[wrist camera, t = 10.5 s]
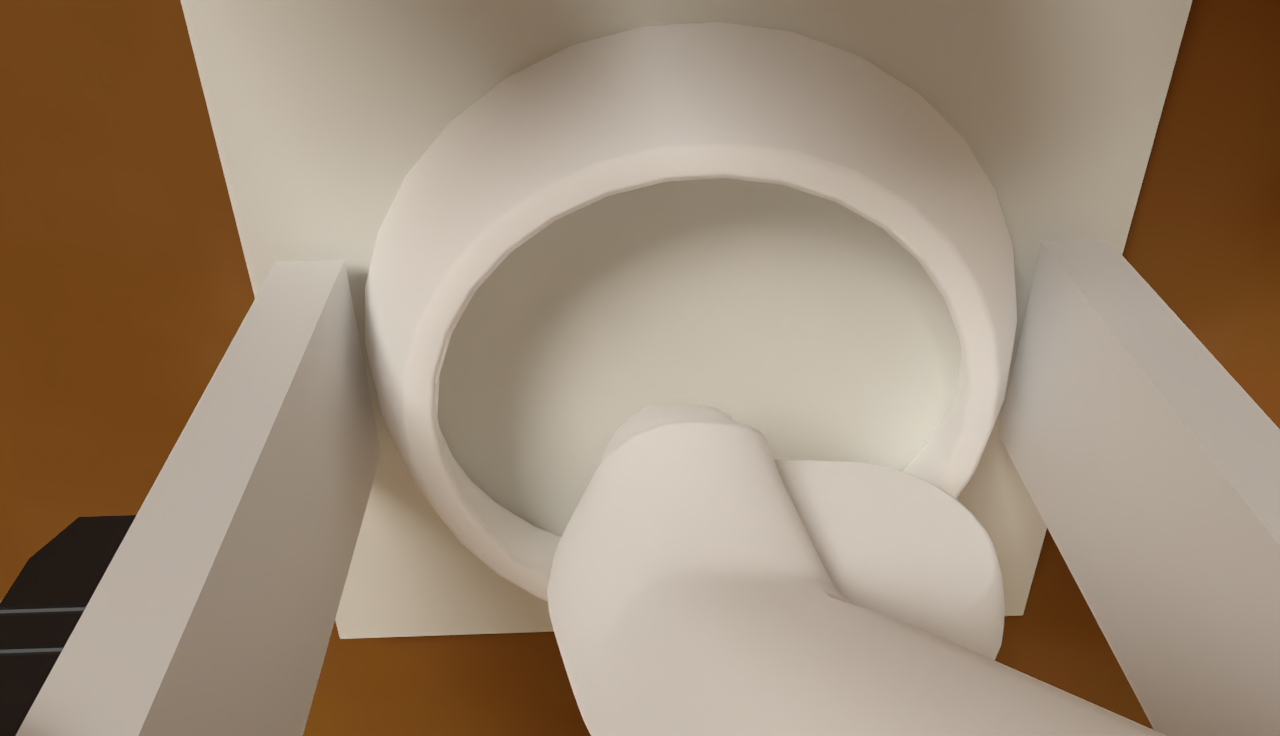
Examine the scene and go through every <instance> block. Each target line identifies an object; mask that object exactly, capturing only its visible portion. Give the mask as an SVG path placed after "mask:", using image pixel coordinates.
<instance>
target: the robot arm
mask: <svg viewBox="0 0 1280 736" xmlns="http://www.w3.org/2000/svg"><path fill="white" fill-rule="evenodd" d="M998 435H999V437H1000V439H1001V441H1002V443H1003V445H1004V447H1005V449H1006V450H1007V452H1008V454H1009V456H1010V458H1011V460H1012V462H1013V464H1014V466H1015V467H1016V469H1017V471H1018V473H1019V475H1020V477H1021V479H1022V481H1023V483H1024V485H1025V486H1026V488H1027V490H1028V492H1029V494H1030V496H1031V498H1032V500H1033V502H1034V504H1035V505H1036V507H1037V509H1038V511H1039V513H1040V515H1041V517H1042V519H1043V521H1044V522H1045V524H1046V526H1047V528H1048V530H1049V532H1050V534H1051V536H1052V538H1053V540H1054V541H1055V543H1056V545H1057V547H1058V549H1059V551H1060V553H1061V555H1062V557H1063V558H1064V560H1065V562H1066V564H1067V566H1068V568H1069V570H1070V572H1071V574H1072V576H1073V577H1074V579H1075V581H1076V583H1077V585H1078V587H1079V589H1080V591H1081V593H1082V594H1083V596H1084V598H1085V600H1086V602H1087V604H1088V606H1089V608H1090V610H1091V612H1092V613H1093V615H1094V617H1095V619H1096V621H1097V623H1098V625H1099V627H1100V629H1101V630H1102V632H1103V634H1104V636H1105V638H1106V640H1107V642H1108V644H1109V646H1110V648H1111V649H1112V651H1113V653H1114V655H1115V657H1116V659H1117V661H1118V663H1119V665H1120V666H1121V668H1122V670H1123V672H1124V674H1125V676H1126V678H1127V680H1128V682H1129V684H1130V685H1131V687H1132V689H1133V691H1134V693H1135V695H1136V697H1137V699H1138V701H1139V703H1140V704H1141V706H1142V708H1143V710H1144V712H1145V714H1146V716H1147V718H1148V720H1149V721H1150V723H1151V725H1152V727H1153V729H1154V730H1155V731H1157V732H1159V733H1162V734H1164V735H1166V736H1280V429H1279V428H1278V427H1277V426H1276V425H1275V424H1274V423H1273V422H1272V420H1271V419H1270V418H1269V417H1268V416H1267V415H1266V414H1265V413H1264V412H1263V411H1262V409H1261V408H1260V407H1259V406H1258V405H1257V404H1256V403H1255V402H1254V401H1253V399H1252V398H1251V397H1250V396H1249V395H1248V394H1247V393H1246V392H1245V391H1244V389H1243V388H1242V387H1241V386H1240V385H1239V384H1238V383H1237V382H1236V381H1235V380H1234V378H1233V377H1232V376H1231V375H1230V374H1229V373H1228V372H1227V371H1226V370H1225V368H1224V367H1223V366H1222V365H1221V364H1220V363H1219V362H1218V361H1217V360H1216V359H1215V357H1214V356H1213V355H1212V354H1211V353H1210V352H1209V351H1208V350H1207V349H1206V347H1205V346H1204V345H1203V344H1202V343H1201V342H1200V341H1199V340H1198V339H1197V338H1196V336H1195V335H1194V334H1193V333H1192V332H1191V331H1190V330H1189V329H1188V328H1187V326H1186V325H1185V324H1184V323H1183V322H1182V321H1181V320H1180V319H1179V318H1178V317H1177V315H1176V314H1175V313H1174V312H1173V311H1172V310H1171V309H1170V308H1169V307H1168V305H1167V304H1166V303H1165V302H1164V301H1163V300H1162V299H1161V298H1160V297H1159V296H1158V294H1157V293H1156V292H1155V291H1154V290H1153V289H1152V288H1151V287H1150V286H1149V284H1148V283H1147V282H1146V281H1145V280H1144V279H1143V278H1142V277H1141V276H1140V275H1139V273H1138V272H1137V271H1136V270H1135V269H1134V268H1133V267H1132V266H1131V265H1130V263H1129V262H1128V261H1127V260H1126V259H1125V258H1124V257H1123V256H1122V255H1121V254H1120V252H1119V251H1118V250H1117V249H1116V248H1115V247H1114V246H1113V245H1112V244H1111V242H1110V241H1109V240H1076V241H1041V245H1040V250H1039V254H1038V259H1037V263H1036V268H1035V272H1034V276H1033V281H1032V285H1031V290H1030V294H1029V299H1028V303H1027V308H1026V312H1025V317H1024V321H1023V326H1022V330H1021V335H1020V339H1019V343H1018V348H1017V352H1016V357H1015V361H1014V366H1013V370H1012V375H1011V379H1010V384H1009V388H1008V393H1007V397H1006V402H1005V406H1004V411H1003V415H1002V419H1001V424H1000V428H999V433H998ZM380 456H381V449H380V444H379V439H378V434H377V428H376V423H375V418H374V412H373V407H372V402H371V397H370V391H369V386H368V381H367V376H366V370H365V365H364V360H363V354H362V349H361V344H360V339H359V333H358V328H357V323H356V318H355V312H354V307H353V302H352V297H351V291H350V286H349V281H348V275H347V270H346V265H345V260H315V261H277V262H275V264H274V266H273V267H272V269H271V271H270V273H269V275H268V277H267V278H266V280H265V282H264V284H263V286H262V288H261V289H260V291H259V293H258V295H257V297H256V298H255V300H254V302H253V304H252V306H251V308H250V309H249V311H248V313H247V315H246V317H245V318H244V320H243V322H242V324H241V326H240V328H239V329H238V331H237V333H236V335H235V337H234V339H233V340H232V342H231V344H230V346H229V348H228V349H227V351H226V353H225V355H224V357H223V359H222V360H221V362H220V364H219V366H218V368H217V369H216V371H215V373H214V375H213V377H212V379H211V380H210V382H209V384H208V386H207V388H206V390H205V391H204V393H203V395H202V397H201V399H200V400H199V402H198V404H197V406H196V408H195V410H194V411H193V413H192V415H191V417H190V419H189V420H188V422H187V424H186V426H185V428H184V430H183V431H182V433H181V435H180V437H179V439H178V441H177V442H176V444H175V446H174V448H173V450H172V451H171V453H170V455H169V457H168V459H167V461H166V462H165V464H164V466H163V468H162V470H161V471H160V473H159V475H158V477H157V479H156V481H155V482H154V484H153V486H152V488H151V490H150V492H149V493H148V495H147V497H146V499H145V501H144V502H143V504H142V506H141V508H140V510H139V512H138V513H137V515H132V516H100V517H79V518H77V519H76V520H75V521H74V522H73V523H72V524H70V525H69V526H68V527H67V528H66V529H64V530H63V531H62V532H61V533H60V534H58V535H57V536H56V537H55V538H54V539H52V540H51V541H50V542H49V543H48V544H46V545H45V546H44V547H43V548H42V549H40V550H39V551H38V552H37V553H36V554H34V555H33V556H32V557H31V558H30V559H29V560H28V562H27V563H26V565H25V566H24V568H23V569H22V571H21V572H20V574H19V576H18V577H17V579H16V580H15V582H14V583H13V585H12V586H11V588H10V590H9V591H8V593H7V594H6V596H5V597H4V599H3V600H2V602H1V604H0V736H303V733H304V729H305V726H306V722H307V718H308V715H309V711H310V708H311V704H312V700H313V697H314V693H315V690H316V686H317V683H318V679H319V675H320V672H321V668H322V665H323V661H324V657H325V654H326V650H327V647H328V643H329V639H330V636H331V632H332V629H333V625H334V621H335V618H336V614H337V611H338V607H339V603H340V600H341V596H342V593H343V589H344V585H345V582H346V578H347V575H348V571H349V567H350V564H351V560H352V557H353V553H354V549H355V546H356V542H357V539H358V535H359V531H360V528H361V524H362V521H363V517H364V513H365V510H366V506H367V503H368V499H369V496H370V492H371V488H372V485H373V481H374V478H375V474H376V470H377V467H378V463H379V460H380Z"/></svg>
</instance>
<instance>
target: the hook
mask: <svg viewBox="0 0 1280 736" xmlns="http://www.w3.org/2000/svg"><path fill="white" fill-rule="evenodd" d="M715 178H729V179H738V180H746V181H754V182H763V183H771V184H779V185H784V186H788V187H791V188H794V189H797V190H800V191H803V192H806V193H809V194H812V195H815V196H819V197H822V198H825V199H828V200H831V201H834V202H837V203H838V204H840V205H842V206H844V207H845V208H847V209H849V210H851V211H853V212H854V213H856V214H858V215H860V216H861V217H863V218H865V219H867V220H868V221H870V222H872V223H874V224H875V225H877V226H879V227H881V228H882V229H883V230H885V231H886V232H887V233H888V234H889V235H890V236H891V237H892V238H893V239H894V240H896V241H897V242H898V243H899V244H900V245H901V246H902V247H903V248H904V249H905V250H907V251H908V252H909V253H910V254H911V255H912V256H913V257H914V258H915V259H916V260H918V261H919V263H920V264H921V265H922V267H923V268H924V270H925V271H926V273H927V274H928V276H929V277H930V279H931V280H932V282H933V283H934V285H935V286H936V288H937V289H938V290H939V292H940V293H941V295H942V296H943V298H944V299H945V301H946V304H947V307H948V309H949V312H950V315H951V318H952V320H953V323H954V326H955V329H956V331H957V334H958V337H959V340H960V344H961V354H962V356H961V363H960V370H959V377H958V384H957V388H956V391H955V393H954V396H953V399H952V401H951V404H950V407H949V409H948V412H947V414H946V415H945V417H944V418H943V420H942V422H941V423H940V425H939V426H938V428H937V430H936V431H935V433H934V434H933V436H932V437H931V439H930V441H929V442H928V444H927V445H926V446H925V447H924V448H923V449H922V450H921V451H920V452H919V453H918V454H917V456H916V457H915V458H914V459H913V460H912V461H911V462H910V463H909V464H908V465H907V466H906V468H905V469H904V470H903V471H899V470H895V469H892V468H889V467H884V466H878V465H872V464H867V463H861V462H841V461H815V460H774V457H773V455H772V452H771V450H770V447H769V445H768V443H767V441H766V439H765V437H764V436H763V434H762V433H761V432H760V431H758V430H756V429H753V428H751V427H749V426H747V425H745V424H737V423H736V422H735V421H734V420H733V419H732V418H731V417H730V416H728V415H727V414H725V413H723V412H721V411H720V410H718V409H716V408H714V407H710V406H705V405H701V404H696V403H673V404H663V405H654V406H649V407H647V408H645V409H643V410H642V411H640V412H638V413H636V414H634V415H632V416H630V417H629V418H628V419H627V420H626V422H625V423H624V424H623V425H622V426H621V427H620V428H619V429H618V430H617V431H616V432H615V433H614V435H613V436H612V438H611V440H610V441H609V443H608V445H607V446H606V448H605V450H604V452H603V456H602V460H601V463H600V465H599V466H598V468H597V469H596V471H595V473H594V475H593V477H592V479H591V481H590V483H589V485H588V486H587V488H586V490H585V492H584V494H583V496H582V498H581V500H580V502H579V504H578V506H577V507H576V509H575V511H574V513H573V515H572V517H571V519H570V521H569V523H568V525H567V527H566V529H565V531H564V533H563V535H562V537H560V536H558V535H555V534H553V533H550V532H548V531H545V530H543V529H540V528H538V527H535V526H533V525H531V524H530V523H528V522H526V521H525V520H523V519H522V518H520V517H518V516H517V515H515V514H513V513H512V512H510V511H509V510H507V509H505V508H504V507H502V506H500V505H499V504H497V503H496V502H495V501H493V500H492V499H491V498H490V497H489V496H488V495H487V494H486V493H484V492H483V491H482V490H481V489H480V488H479V487H478V486H477V485H476V484H474V483H473V482H472V481H471V480H470V479H469V477H468V476H467V475H466V473H465V472H464V471H463V469H462V468H461V467H460V465H459V464H458V463H457V461H456V460H455V459H454V457H453V456H452V454H451V452H450V449H449V447H448V445H447V443H446V441H445V439H444V436H443V434H442V432H441V430H440V428H439V423H438V394H439V375H440V371H441V368H442V365H443V361H444V358H445V354H446V351H447V348H448V344H449V341H450V337H451V334H452V331H453V330H454V328H455V326H456V324H457V323H458V321H459V319H460V317H461V316H462V314H463V312H464V310H465V309H466V307H467V305H468V303H469V302H470V300H471V298H472V297H473V295H474V293H475V291H476V290H477V289H478V288H479V287H480V286H481V284H482V283H483V282H484V281H485V280H486V279H487V278H488V277H489V276H490V275H491V273H492V272H493V271H494V270H495V269H496V268H497V267H498V266H499V265H500V264H501V263H502V261H503V260H504V259H505V258H506V257H507V256H508V255H509V254H510V253H511V252H512V251H513V250H515V249H516V248H518V247H519V246H520V245H522V244H523V243H525V242H526V241H527V240H529V239H530V238H531V237H533V236H534V235H536V234H537V233H538V232H540V231H541V230H543V229H544V228H545V227H547V226H548V225H549V224H551V223H552V222H554V221H555V220H557V219H559V218H561V217H564V216H566V215H568V214H570V213H572V212H574V211H577V210H579V209H581V208H583V207H585V206H587V205H590V204H592V203H594V202H596V201H598V200H600V199H603V198H605V197H607V196H610V195H614V194H618V193H622V192H626V191H630V190H634V189H638V188H642V187H646V186H650V185H654V184H658V183H662V182H669V181H684V180H700V179H715ZM1016 325H1017V305H1016V288H1015V271H1014V255H1013V245H1012V241H1011V238H1010V235H1009V232H1008V229H1007V225H1006V222H1005V219H1004V216H1003V212H1002V209H1001V206H1000V203H999V200H998V196H997V193H996V190H995V189H994V187H993V185H992V184H991V182H990V180H989V179H988V177H987V175H986V174H985V172H984V171H983V169H982V167H981V166H980V164H979V162H978V161H977V159H976V157H975V156H974V154H973V152H972V151H971V149H970V147H969V146H968V144H967V142H966V141H965V139H964V138H963V137H962V136H961V135H960V134H959V133H958V132H957V131H956V130H955V129H954V128H953V127H952V126H951V125H950V124H949V123H948V122H947V121H946V120H945V119H944V118H943V117H942V116H941V115H940V114H939V113H938V112H937V111H936V110H935V109H934V108H933V107H932V106H931V105H930V104H929V103H928V102H927V101H926V100H925V99H924V98H923V97H922V96H921V95H920V94H919V93H918V92H916V91H915V90H913V89H912V88H910V87H908V86H907V85H905V84H904V83H902V82H900V81H899V80H897V79H896V78H894V77H892V76H891V75H889V74H888V73H886V72H884V71H883V70H881V69H880V68H878V67H876V66H875V65H873V64H872V63H870V62H868V61H867V60H865V59H864V58H862V57H860V56H858V55H856V54H853V53H850V52H847V51H844V50H842V49H839V48H836V47H833V46H830V45H828V44H825V43H822V42H819V41H816V40H814V39H811V38H808V37H805V36H802V35H800V34H797V33H794V32H791V31H784V30H776V29H769V28H762V27H754V26H747V25H740V24H732V23H725V22H703V23H688V24H672V25H657V26H642V27H639V28H635V29H631V30H628V31H624V32H620V33H616V34H613V35H609V36H605V37H602V38H598V39H594V40H591V41H587V42H583V43H579V44H576V45H572V46H569V47H567V48H565V49H563V50H561V51H559V52H557V53H555V54H553V55H551V56H549V57H547V58H545V59H543V60H541V61H539V62H537V63H535V64H533V65H531V66H529V67H527V68H525V69H523V70H521V71H519V72H517V73H515V74H513V75H511V76H509V77H507V78H505V79H504V80H503V81H501V82H500V83H499V84H498V85H496V86H495V87H494V88H492V89H491V90H490V91H489V92H487V93H486V94H485V95H484V96H482V97H481V98H480V99H479V100H477V101H476V102H475V103H474V104H472V105H471V106H470V107H468V108H467V109H466V110H465V111H463V112H462V113H461V114H460V115H458V116H457V117H456V118H455V119H453V120H452V121H451V122H450V123H449V124H448V125H447V126H446V127H445V128H444V130H443V131H442V132H441V133H440V135H439V136H438V137H437V138H436V139H435V141H434V142H433V143H432V144H431V146H430V147H429V148H428V149H427V150H426V152H425V153H424V154H423V155H422V157H421V158H420V159H419V160H418V161H417V163H416V164H415V165H414V166H413V167H412V169H411V170H410V171H409V172H408V174H407V175H406V177H405V179H404V181H403V183H402V185H401V187H400V189H399V191H398V193H397V195H396V197H395V199H394V201H393V203H392V205H391V207H390V209H389V211H388V213H387V215H386V217H385V219H384V221H383V223H382V225H381V227H380V229H379V231H378V235H377V239H376V243H375V247H374V252H373V256H372V260H371V264H370V269H369V273H368V277H367V281H366V286H365V345H366V349H367V354H368V358H369V362H370V366H371V370H372V375H373V379H374V383H375V387H376V391H377V395H378V400H379V404H380V408H381V412H382V415H383V417H384V420H385V422H386V424H387V427H388V429H389V431H390V433H391V436H392V438H393V440H394V442H395V444H396V446H397V448H398V450H399V452H400V454H401V456H402V458H403V460H404V462H405V464H406V466H407V468H408V470H409V472H410V474H411V476H412V478H413V480H414V483H415V484H416V486H417V487H418V488H419V490H420V491H421V492H422V494H423V495H424V496H425V498H426V499H427V500H428V502H429V503H430V505H431V506H432V507H433V508H434V510H435V511H436V512H437V514H438V515H439V516H440V517H441V519H442V520H443V521H444V522H445V524H446V525H447V526H448V527H449V529H450V530H451V531H452V532H453V534H454V535H455V536H456V537H457V539H458V540H459V541H460V542H461V544H462V545H464V546H465V547H466V548H467V549H468V550H470V551H471V552H472V553H473V554H474V555H475V556H477V557H478V558H479V559H480V560H481V561H483V562H484V563H485V564H486V565H487V566H488V567H490V568H491V569H492V570H493V571H494V572H496V573H497V574H498V575H500V576H502V577H503V578H505V579H507V580H508V581H510V582H512V583H514V584H515V585H517V586H519V587H521V588H522V589H524V590H526V591H527V592H529V593H531V594H533V595H534V596H536V597H538V598H540V599H543V600H545V601H548V607H549V615H550V618H551V622H552V626H553V630H554V633H555V637H556V640H557V643H558V646H559V650H560V653H561V656H562V659H563V663H564V666H565V669H566V672H567V675H568V678H569V681H570V684H571V687H572V690H573V693H574V696H575V699H576V702H577V704H578V707H579V710H580V713H581V715H582V718H583V720H584V722H585V725H586V727H587V729H588V731H589V733H590V735H591V736H1166V735H1164V734H1162V733H1159V732H1157V731H1155V730H1153V729H1150V728H1148V727H1146V726H1143V725H1141V724H1139V723H1137V722H1134V721H1132V720H1130V719H1127V718H1125V717H1123V716H1121V715H1118V714H1116V713H1114V712H1111V711H1109V710H1107V709H1104V708H1102V707H1100V706H1098V705H1095V704H1093V703H1091V702H1088V701H1086V700H1084V699H1082V698H1079V697H1077V696H1075V695H1072V694H1070V693H1068V692H1066V691H1063V690H1061V689H1059V688H1056V687H1054V686H1052V685H1050V684H1047V683H1045V682H1043V681H1040V680H1038V679H1036V678H1033V677H1031V676H1029V675H1027V674H1024V673H1022V672H1020V671H1017V670H1015V669H1013V668H1011V667H1008V666H1006V665H1004V664H1001V663H999V662H997V661H995V659H996V656H997V654H998V652H999V649H1000V647H1001V644H1002V637H1003V629H1004V614H1005V605H1004V592H1003V580H1002V573H1001V569H1000V565H999V561H998V557H997V554H996V551H995V548H994V544H993V542H992V540H991V538H990V537H989V535H988V533H987V531H986V530H985V528H984V527H983V526H982V525H981V523H980V522H979V521H978V520H977V519H976V517H975V516H974V515H973V514H972V513H971V512H970V511H969V510H968V509H967V508H966V507H965V506H963V505H962V504H961V503H960V502H959V501H958V500H957V498H958V497H959V495H960V494H961V492H962V491H963V489H964V488H965V486H966V485H967V483H968V482H969V480H970V479H971V477H972V476H973V474H974V473H975V471H976V468H977V466H978V463H979V461H980V459H981V456H982V454H983V451H984V449H985V446H986V444H987V441H988V439H989V437H990V434H991V432H992V429H993V427H994V424H995V422H996V419H997V417H998V414H999V411H1000V409H1001V406H1002V404H1003V401H1004V398H1005V392H1006V386H1007V380H1008V375H1009V369H1010V363H1011V357H1012V351H1013V345H1014V338H1015V331H1016Z"/></svg>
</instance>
